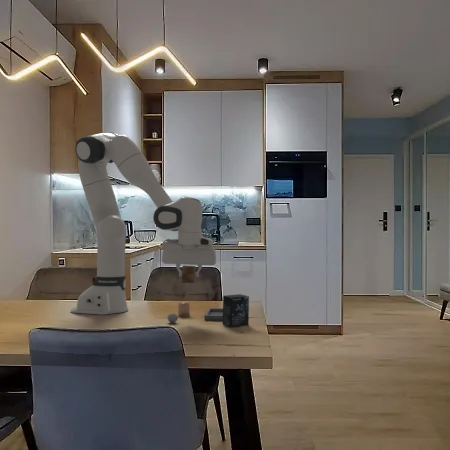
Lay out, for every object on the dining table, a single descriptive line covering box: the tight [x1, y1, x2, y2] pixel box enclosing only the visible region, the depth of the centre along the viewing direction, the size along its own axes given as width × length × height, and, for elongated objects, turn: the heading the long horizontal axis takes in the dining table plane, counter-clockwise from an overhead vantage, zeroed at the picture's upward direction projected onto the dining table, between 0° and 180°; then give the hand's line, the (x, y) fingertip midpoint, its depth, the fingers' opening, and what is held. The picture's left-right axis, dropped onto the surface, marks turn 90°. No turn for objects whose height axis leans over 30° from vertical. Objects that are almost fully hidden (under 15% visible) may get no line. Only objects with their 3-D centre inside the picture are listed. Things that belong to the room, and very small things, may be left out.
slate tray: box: [203, 307, 223, 322], centre depth 201 cm, size 14×16×2 cm
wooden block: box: [177, 301, 191, 317], centre depth 203 cm, size 4×4×5 cm
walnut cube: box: [181, 265, 197, 284], centre depth 195 cm, size 4×4×6 cm
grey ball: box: [167, 312, 179, 324], centre depth 188 cm, size 4×4×4 cm
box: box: [222, 294, 250, 328], centre depth 186 cm, size 8×6×11 cm
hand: (188, 276), depth 195 cm, fingers closed on walnut cube, 4 cm apart
